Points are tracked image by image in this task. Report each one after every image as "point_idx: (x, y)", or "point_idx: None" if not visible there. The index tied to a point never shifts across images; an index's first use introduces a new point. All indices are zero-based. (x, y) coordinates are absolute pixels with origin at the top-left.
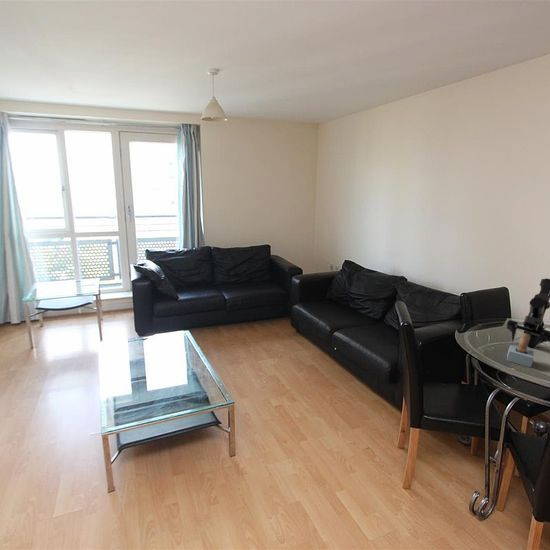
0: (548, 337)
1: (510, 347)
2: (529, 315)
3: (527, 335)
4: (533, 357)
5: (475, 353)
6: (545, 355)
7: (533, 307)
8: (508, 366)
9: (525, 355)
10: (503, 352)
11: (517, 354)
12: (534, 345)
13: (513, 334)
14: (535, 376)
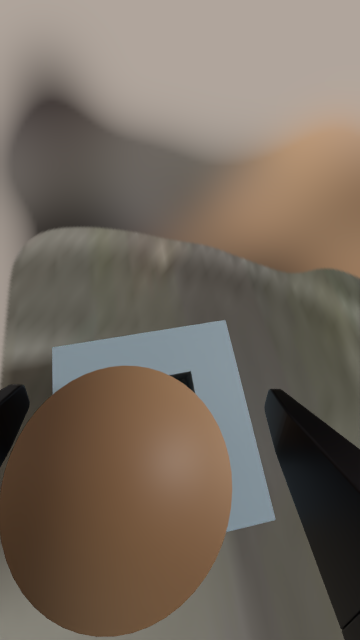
0: None
1: (247, 432)
2: None
3: (84, 394)
4: (52, 363)
5: (352, 284)
6: None
7: None
8: (182, 265)
9: (112, 347)
10: (271, 486)
11: (166, 331)
12: (2, 398)
13: (344, 454)
14: (56, 259)
